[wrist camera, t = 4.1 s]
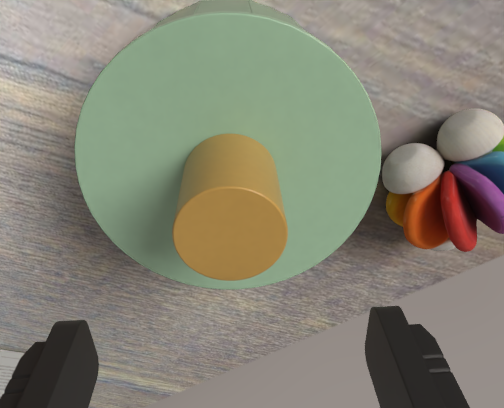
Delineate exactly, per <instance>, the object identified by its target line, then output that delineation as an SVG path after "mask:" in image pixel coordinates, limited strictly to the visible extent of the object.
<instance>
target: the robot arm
mask: <svg viewBox="0 0 504 408" xmlns="http://www.w3.org/2000/svg"><path fill="white" fill-rule="evenodd" d="M365 355H366V361H367V366H368V369H369V372H370V376H371V379H372V382H373V385H374V388H375V392H376V395H377V398H378V401H379V404H380V408H470V407H469V405H468V403H467V401H466V399H465V398H464V395H463V393H462V391H461V389H460V387H459V385H458V383H457V381H456V379H455V377H454V375H453V374H452V373H451V372H450V367H449V365H448V363H447V361H446V359H444V357H443V354H442V351H441V349H440V348H439V346H438V344H437V342H436V340H435V338H434V337H433V336H432V335H431V334H430V333H429V332H428V331H427V330H426V329H425V328H424V327H423V326H422V325H420V324H415V325H409V324H408V322H407V320H406V318H405V316H404V313H403V311H402V310H401V308H400V307H399V306H387V307H372V308H371V310H370V315H369V323H368V329H367V335H366V341H365ZM98 367H99V363H98V355H97V352H96V349H95V346H94V342H93V339H92V336H91V333H90V330H89V326H88V324H87V322H86V321H85V320H76V321H58V322H56V323H55V324H54V325H53V327H52V329H51V332H50V334H49V336H48V338H47V340H46V341H45V342H35V343H34V345H33V346H32V347H31V348H30V349H29V350H28V351H27V352H26V353H25V354H24V355H23V356H22V357H21V358H20V360H19V362H18V364H17V366H16V368H15V370H14V372H13V374H12V379H10V380H9V382H8V384H7V386H6V388H5V390H4V391H5V392H4V394H2V396H1V398H0V408H88V406H89V403H90V400H91V396H92V393H93V390H94V387H95V383H96V380H97V376H98Z"/></svg>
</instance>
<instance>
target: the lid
mask: <svg viewBox="0 0 504 408" xmlns="http://www.w3.org/2000/svg"><path fill="white" fill-rule="evenodd" d="M74 149H75V166H76V172H77V177H78V182H79V185H80V188H81V191H82V194H83V197H84V200H85V202H86V204H87V206H88V208H89V210H90V212H91V214H92V216H93V217H94V219H95V220H96V222H97V223H98V225H99V226H100V227H101V229H102V230H103V231H104V233H105V234H106V235H107V236H108V237H109V238H110V239H111V241H112V242H113V243H114V244H115V245H116V246H118V247H119V248H120V249H121V250H122V251H123V252H124V253H125V254H126V255H128V256H129V257H131V258H132V259H133V260H135V261H136V262H138V263H139V264H141V265H142V266H144V267H146V268H148V269H149V270H151V271H153V272H155V273H157V274H159V275H162V276H164V277H166V278H169V279H171V280H174V281H178V282H181V283H184V284H188V285H193V286H197V287H202V288H211V289H246V288H255V287H260V286H265V285H270V284H273V283H277V282H280V281H283V280H286V279H289V278H291V277H293V276H296V275H298V274H301V273H303V272H304V271H306V270H308V269H310V268H312V267H313V266H315V265H317V264H318V263H320V262H321V261H322V260H324V259H325V258H327V257H328V256H330V255H331V254H332V253H333V252H334V251H335V250H336V249H337V248H339V247H340V246H341V245H342V244H343V243H344V242H345V241H346V239H347V238H348V237H349V236H350V235H351V234H352V233H353V231H354V230H355V229H356V227H357V226H358V224H359V223H360V221H361V220H362V218H363V217H364V215H365V213H366V211H367V209H368V207H369V205H370V203H371V201H372V198H373V195H374V192H375V189H376V187H377V182H378V177H379V173H380V165H381V139H380V131H379V126H378V122H377V118H376V114H375V111H374V109H373V106H372V104H371V101H370V98H369V96H368V94H367V93H366V91H365V89H364V87H363V86H362V84H361V82H360V80H359V79H358V78H357V76H356V75H355V74H354V73H353V71H352V70H351V69H350V67H349V66H348V65H347V64H346V62H345V61H344V60H343V59H342V58H341V57H340V56H338V55H337V54H336V53H335V52H334V51H333V50H332V49H331V48H330V47H329V46H328V45H326V44H325V43H323V42H322V41H321V40H319V39H318V38H316V37H315V36H313V35H312V34H310V33H309V32H307V31H305V30H303V29H301V28H299V27H297V26H295V25H293V24H291V23H288V22H285V21H282V20H279V19H276V18H273V17H270V16H266V15H261V14H255V13H250V12H242V11H214V12H205V13H197V14H193V15H189V16H185V17H181V18H177V19H174V20H172V21H169V22H167V23H164V24H162V25H159V26H157V27H155V28H153V29H151V30H149V31H148V32H146V33H144V34H143V35H141V36H139V37H138V38H136V39H135V40H133V41H132V42H131V43H130V44H128V45H127V46H126V47H125V48H124V49H122V50H121V51H120V52H119V53H118V54H117V55H116V56H115V57H114V58H113V59H112V60H111V61H110V62H109V64H108V65H107V66H106V67H105V68H104V69H103V70H102V71H101V73H100V74H99V76H98V77H97V79H96V81H95V82H94V84H93V85H92V87H91V88H90V90H89V92H88V94H87V97H86V99H85V101H84V103H83V106H82V108H81V112H80V115H79V119H78V123H77V126H76V135H75V144H74Z"/></svg>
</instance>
